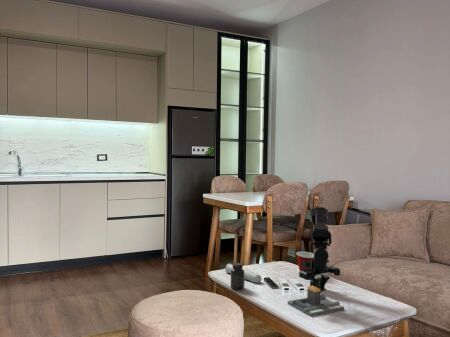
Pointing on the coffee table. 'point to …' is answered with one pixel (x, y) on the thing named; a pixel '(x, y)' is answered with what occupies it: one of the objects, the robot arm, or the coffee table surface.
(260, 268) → the coffee table surface
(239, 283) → the supplement bottle
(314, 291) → the handle
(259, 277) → the tube
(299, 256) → the plastic cup
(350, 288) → the coffee table surface
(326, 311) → the panel
